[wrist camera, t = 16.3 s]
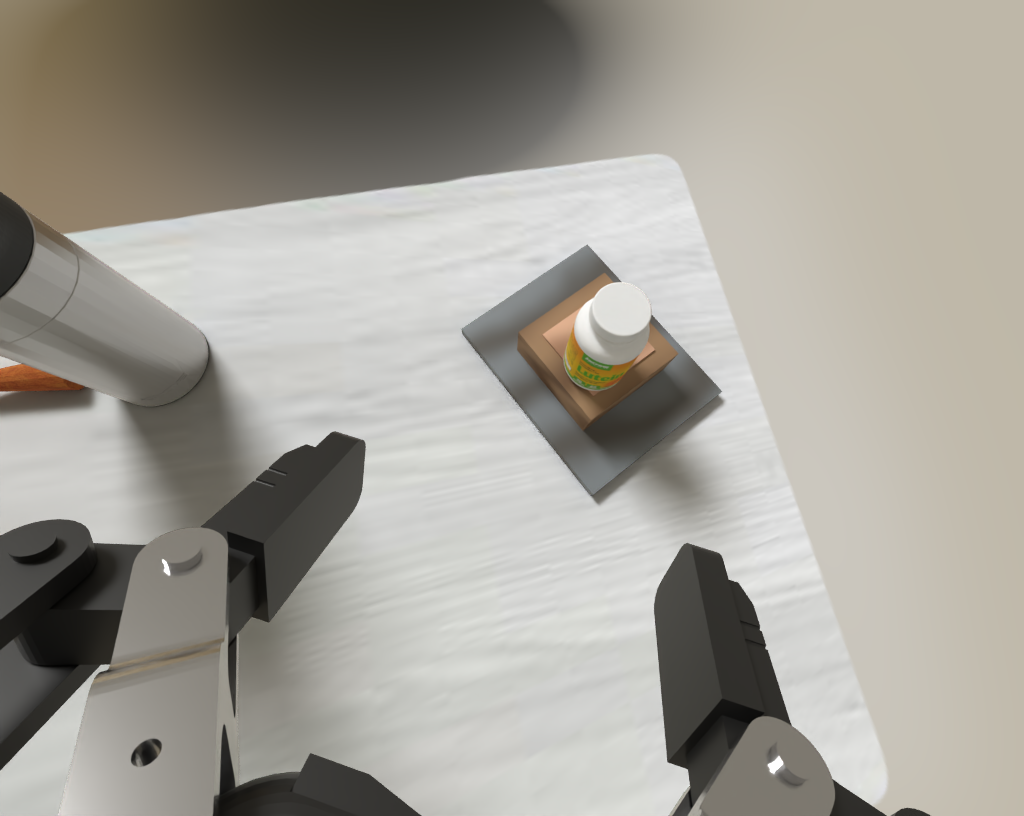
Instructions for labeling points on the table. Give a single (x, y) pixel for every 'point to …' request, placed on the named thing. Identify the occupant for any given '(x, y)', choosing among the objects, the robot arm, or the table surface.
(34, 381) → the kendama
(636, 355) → the supplement bottle
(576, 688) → the table surface
